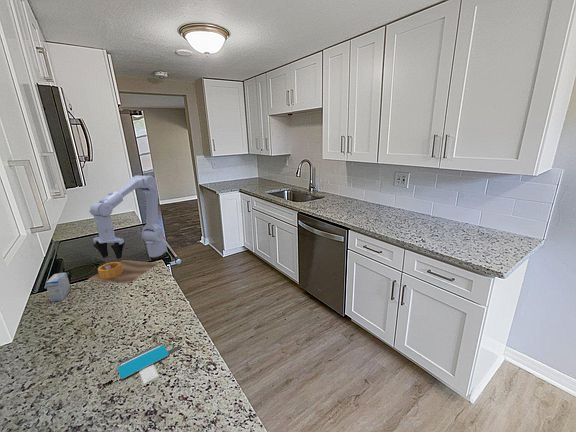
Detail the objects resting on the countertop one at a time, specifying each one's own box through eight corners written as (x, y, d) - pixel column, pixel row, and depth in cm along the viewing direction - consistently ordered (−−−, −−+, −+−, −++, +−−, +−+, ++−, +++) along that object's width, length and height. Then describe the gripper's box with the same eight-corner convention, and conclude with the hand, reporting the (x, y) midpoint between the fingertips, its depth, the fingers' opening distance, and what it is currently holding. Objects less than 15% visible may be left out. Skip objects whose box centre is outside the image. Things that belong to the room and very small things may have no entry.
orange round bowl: (111, 268, 129) (109, 261, 128) (127, 270, 127) (125, 262, 126) (95, 278, 121) (92, 270, 119) (111, 279, 119) (109, 271, 117)
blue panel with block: (106, 406, 63) (105, 401, 63) (100, 375, 72) (99, 370, 72) (189, 361, 76) (188, 356, 75) (175, 339, 84) (174, 334, 84)
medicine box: (59, 292, 113) (53, 273, 110) (71, 289, 114) (66, 271, 112) (50, 302, 106) (44, 283, 103) (64, 299, 107) (58, 280, 105)
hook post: (109, 272, 125) (107, 265, 124) (113, 273, 125) (111, 265, 123) (106, 274, 123) (104, 267, 122) (109, 275, 123) (107, 267, 122)
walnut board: (123, 262, 139) (122, 259, 138) (159, 265, 134) (159, 262, 133) (88, 282, 120) (87, 279, 120) (129, 286, 115) (128, 283, 115)
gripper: (83, 231, 115) (91, 260, 118) (111, 233, 111) (118, 262, 115) (98, 226, 121) (105, 253, 125) (125, 227, 118) (131, 255, 122)
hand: (112, 257), depth 121 cm, fingers open, 7 cm apart
